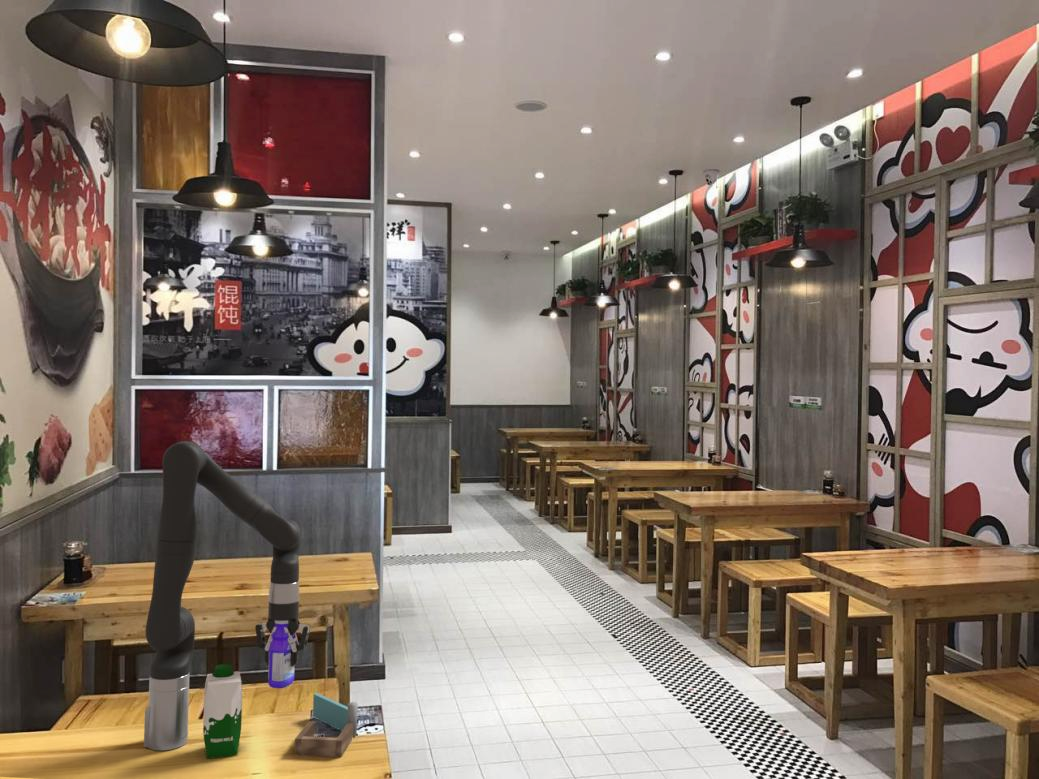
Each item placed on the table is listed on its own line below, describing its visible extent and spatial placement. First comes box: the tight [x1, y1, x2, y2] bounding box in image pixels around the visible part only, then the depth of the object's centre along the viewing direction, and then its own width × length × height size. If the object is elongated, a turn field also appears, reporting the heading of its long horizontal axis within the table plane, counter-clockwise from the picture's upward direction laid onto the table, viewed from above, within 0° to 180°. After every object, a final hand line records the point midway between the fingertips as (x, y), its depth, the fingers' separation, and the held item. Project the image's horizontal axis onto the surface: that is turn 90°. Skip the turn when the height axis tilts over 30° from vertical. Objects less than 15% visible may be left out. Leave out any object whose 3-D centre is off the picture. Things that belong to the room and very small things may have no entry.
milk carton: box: [202, 663, 243, 760], centre depth 201 cm, size 9×9×20 cm
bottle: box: [267, 620, 295, 690], centre depth 210 cm, size 7×6×17 cm
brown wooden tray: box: [294, 720, 354, 758], centre depth 204 cm, size 12×11×4 cm
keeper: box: [312, 692, 358, 738], centre depth 217 cm, size 18×2×8 cm, turn 47°
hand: (281, 664), depth 210 cm, fingers closed on bottle, 5 cm apart
